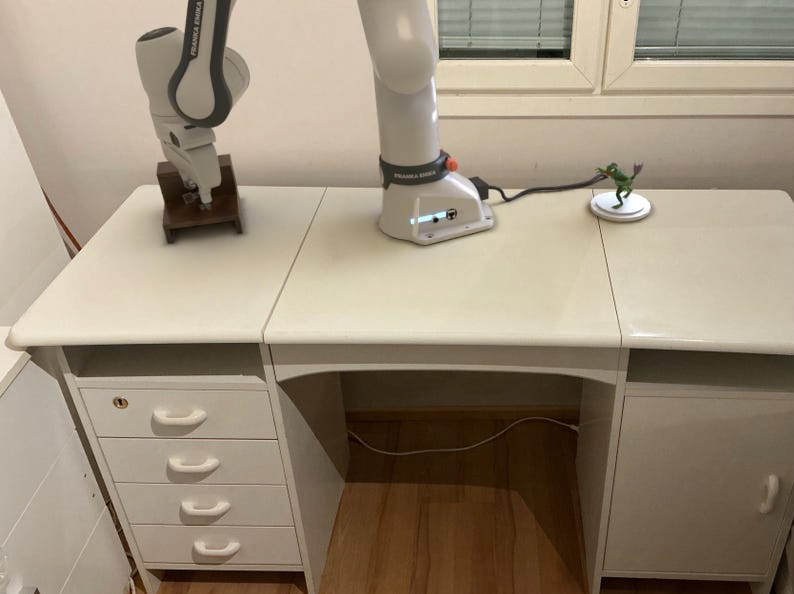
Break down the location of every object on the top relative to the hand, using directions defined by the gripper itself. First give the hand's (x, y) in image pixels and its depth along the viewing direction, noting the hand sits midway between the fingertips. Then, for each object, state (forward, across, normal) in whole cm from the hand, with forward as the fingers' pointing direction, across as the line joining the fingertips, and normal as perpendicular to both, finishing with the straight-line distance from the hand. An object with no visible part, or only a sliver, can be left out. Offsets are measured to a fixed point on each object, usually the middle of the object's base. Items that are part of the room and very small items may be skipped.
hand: (198, 194), depth 148 cm
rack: (+7, -3, +1) cm, 8 cm away
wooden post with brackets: (+3, -1, 0) cm, 3 cm away
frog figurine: (+8, +46, +69) cm, 83 cm away
